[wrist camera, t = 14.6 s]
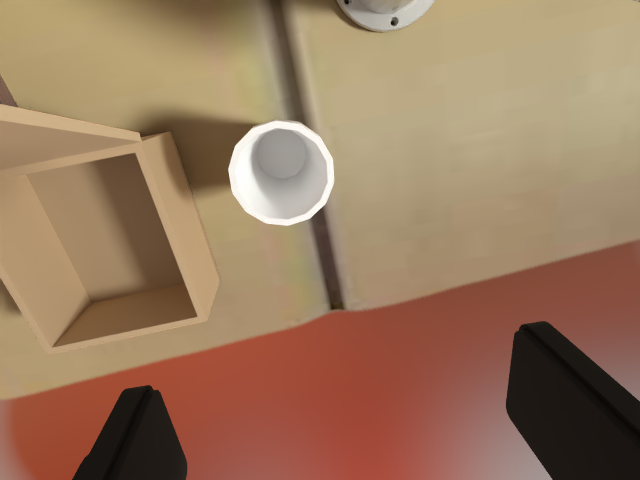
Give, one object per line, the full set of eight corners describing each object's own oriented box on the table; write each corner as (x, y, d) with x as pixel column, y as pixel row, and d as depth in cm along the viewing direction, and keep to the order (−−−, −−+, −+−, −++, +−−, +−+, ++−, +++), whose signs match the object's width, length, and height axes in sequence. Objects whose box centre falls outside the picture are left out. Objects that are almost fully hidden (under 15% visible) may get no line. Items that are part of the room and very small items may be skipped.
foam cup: (334, 142, 44) (354, 161, 32) (294, 204, 47) (299, 242, 35) (267, 96, 41) (262, 98, 29) (228, 164, 44) (209, 190, 32)
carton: (15, 162, 41) (-61, 182, 32) (171, 131, 42) (140, 141, 33) (89, 306, 49) (45, 355, 40) (220, 278, 50) (207, 321, 40)
